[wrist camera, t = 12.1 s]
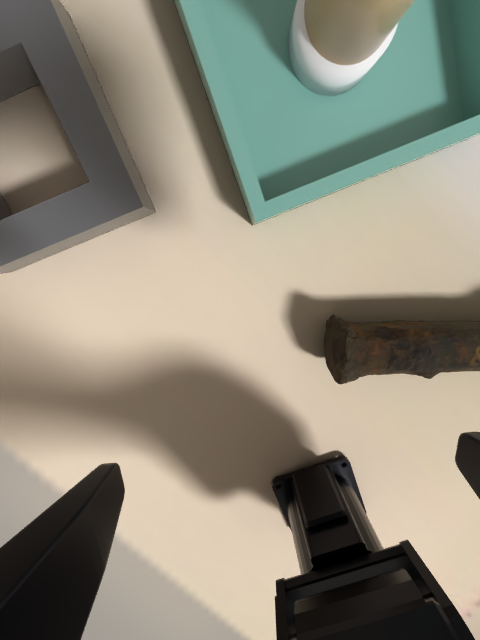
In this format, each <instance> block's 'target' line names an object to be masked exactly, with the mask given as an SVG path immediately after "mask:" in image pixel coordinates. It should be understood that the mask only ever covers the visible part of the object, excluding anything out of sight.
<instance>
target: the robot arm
mask: <svg viewBox="0 0 480 640" xmlns="http://www.w3.org/2000/svg"><path fill="white" fill-rule="evenodd" d="M455 461H456V464H457V467H458V468H459V470H460V472H461V473H462V474H463V476H464V477H465V479H466V480H467V482H468V483H469V484H470V486H471V487H472V489H473V490H474V492H475V493H476V495H477V496H478V497H479V499H480V432H467V433H462V434H461V435H460V436H459V439H458V445H457V450H456V456H455ZM342 463H343V464H342ZM277 484H279V485H277ZM272 488H273V490H274V493H275V495H276V497H277V499H278V502H279V504H280V506H281V508H282V511H283V513H284V515H285V517H286V520H287V522H288V524H289V526H290V529H291V531H292V534H293V539H294V543H295V548H296V553H297V557H298V562H299V567H300V571H301V575H298V576H295V577H291V578H288V579H284V578H282V579H278V580H276V594H277V596H275V610H276V633H277V640H475V639H474V637H473V635H472V634H471V632H470V630H469V628H468V627H467V625H466V624H465V622H464V620H463V619H462V617H461V615H460V614H459V612H458V611H457V609H456V608H455V606H454V605H453V604H452V602H451V601H450V599H449V598H448V596H447V595H446V594H445V592H444V591H443V589H442V588H441V586H440V585H439V584H438V582H437V581H436V579H435V578H434V576H433V575H432V574H431V572H430V571H429V569H428V568H427V566H426V565H425V564H424V562H423V561H422V559H421V558H420V556H419V555H418V554H417V552H416V551H415V549H414V548H413V546H412V545H411V544H410V542H409V541H408V540H405V541H402V542H399V544H398V545H395V546H392V547H389V548H386V549H383V547H382V545H381V543H380V541H379V539H378V537H377V535H376V533H375V531H374V529H373V527H372V525H371V523H370V521H369V519H368V517H367V515H366V510H365V507H364V504H363V501H362V498H361V495H360V492H359V489H358V486H357V483H356V480H355V477H354V474H353V471H352V467H351V464H350V462H349V460H348V458H347V457H345V456H340V457H337V458H334V459H331V460H328V461H325V462H322V463H319V464H316V465H313V466H310V467H307V468H304V469H301V470H298V471H295V472H292V473H289V474H286V475H283V476H280V477H277V478H275V479H273V480H272ZM124 494H125V488H124V483H123V479H122V474H121V470H120V467H119V465H118V464H117V463H107V464H101V465H99V466H98V467H97V468H96V469H94V470H93V471H92V472H91V473H90V474H88V475H87V476H86V477H85V478H84V479H82V480H81V481H80V482H79V483H78V484H76V485H75V486H74V487H73V488H72V489H70V490H69V491H68V492H67V493H66V494H64V495H63V496H62V497H61V498H60V499H58V500H57V501H56V502H55V503H54V504H52V505H51V506H50V507H49V508H48V509H46V510H45V511H44V512H43V513H42V514H40V515H39V516H38V517H37V518H36V519H34V521H32V522H31V523H30V524H28V525H27V526H26V527H25V528H24V529H22V530H21V531H20V532H19V533H18V534H17V535H15V536H14V537H13V538H12V539H10V541H8V542H7V543H6V544H4V545H3V546H2V547H1V548H0V640H81V637H82V634H83V631H84V629H85V626H86V623H87V620H88V617H89V615H90V612H91V609H92V606H93V603H94V600H95V597H96V595H97V592H98V589H99V586H100V583H101V580H102V577H103V574H104V571H105V568H106V565H107V561H108V557H109V553H110V550H111V546H112V542H113V538H114V534H115V530H116V527H117V523H118V519H119V515H120V511H121V507H122V503H123V499H124Z"/></svg>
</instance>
